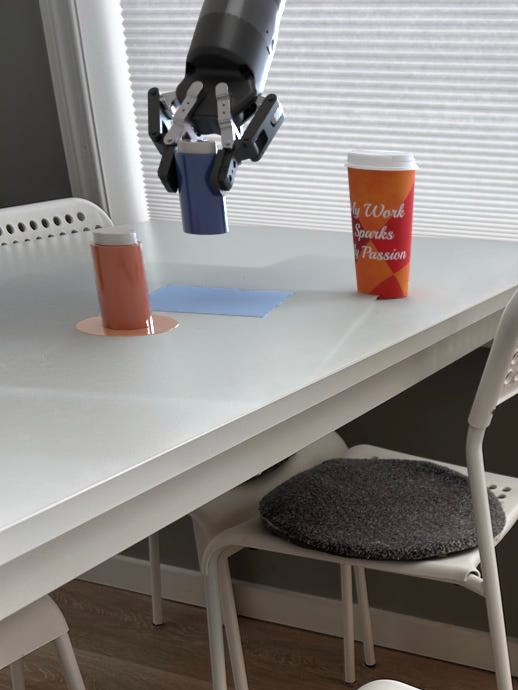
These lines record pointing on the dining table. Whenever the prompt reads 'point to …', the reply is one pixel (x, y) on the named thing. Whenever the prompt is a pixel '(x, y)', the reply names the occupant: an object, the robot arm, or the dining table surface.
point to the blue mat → (216, 300)
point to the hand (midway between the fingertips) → (192, 188)
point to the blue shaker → (199, 188)
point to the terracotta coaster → (96, 328)
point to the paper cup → (382, 219)
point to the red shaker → (120, 279)
